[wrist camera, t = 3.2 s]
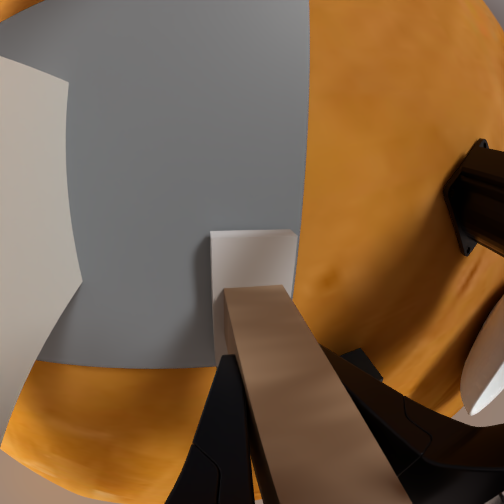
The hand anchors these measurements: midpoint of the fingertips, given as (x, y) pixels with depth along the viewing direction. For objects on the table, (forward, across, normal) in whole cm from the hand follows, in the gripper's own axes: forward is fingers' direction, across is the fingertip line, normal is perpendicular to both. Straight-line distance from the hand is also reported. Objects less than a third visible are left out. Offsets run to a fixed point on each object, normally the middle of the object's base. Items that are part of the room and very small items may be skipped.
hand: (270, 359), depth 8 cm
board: (+5, +9, -5) cm, 12 cm away
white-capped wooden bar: (+4, 0, 0) cm, 4 cm away
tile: (-1, +8, -5) cm, 9 cm away
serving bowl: (+6, -33, +10) cm, 35 cm away
